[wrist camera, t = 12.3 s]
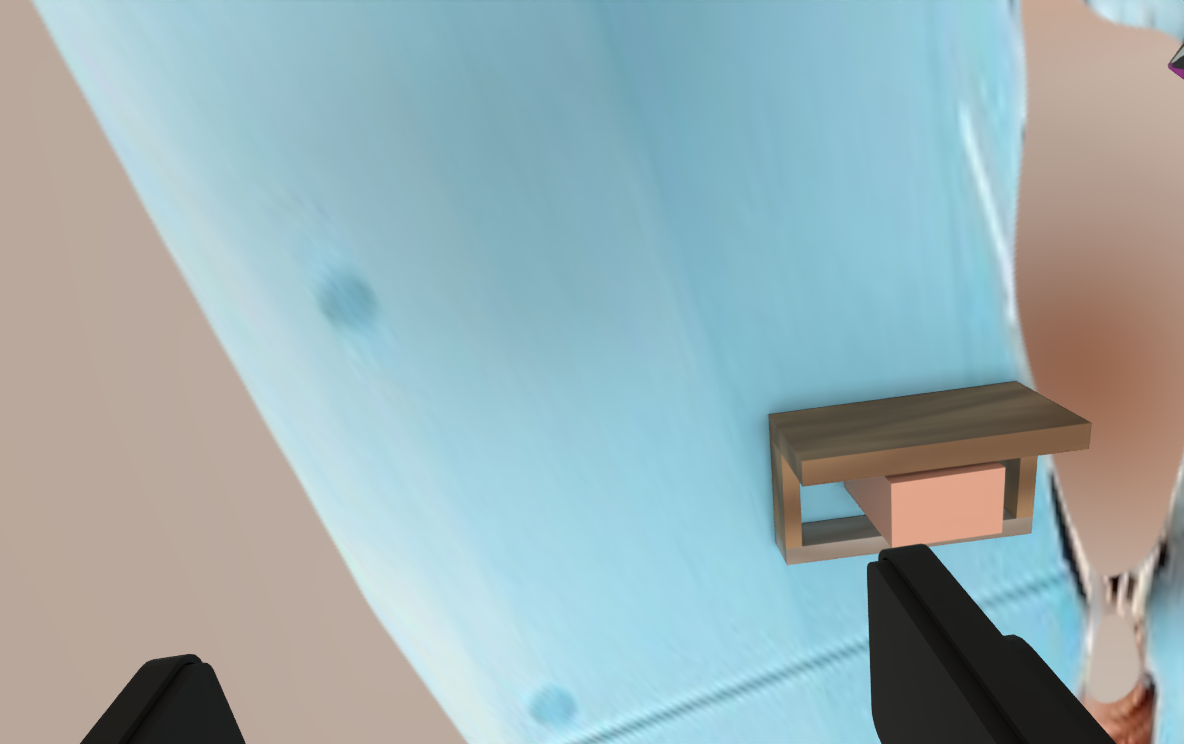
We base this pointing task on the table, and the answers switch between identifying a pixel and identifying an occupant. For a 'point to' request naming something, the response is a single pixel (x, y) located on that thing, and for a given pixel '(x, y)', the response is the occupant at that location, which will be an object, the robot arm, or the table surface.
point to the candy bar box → (1178, 62)
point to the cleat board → (911, 456)
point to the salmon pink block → (933, 503)
